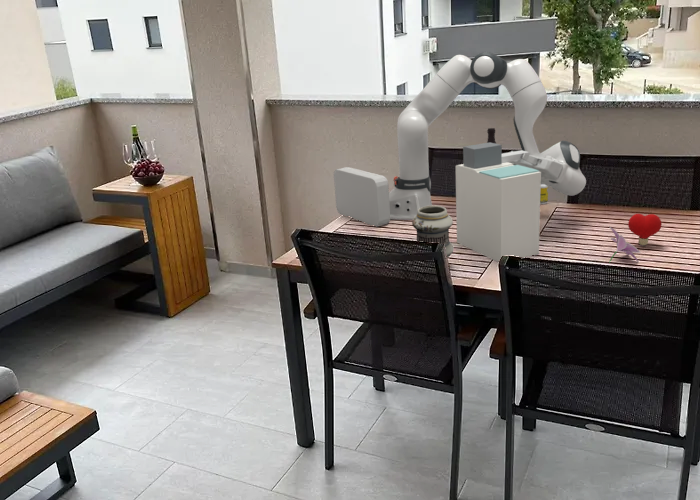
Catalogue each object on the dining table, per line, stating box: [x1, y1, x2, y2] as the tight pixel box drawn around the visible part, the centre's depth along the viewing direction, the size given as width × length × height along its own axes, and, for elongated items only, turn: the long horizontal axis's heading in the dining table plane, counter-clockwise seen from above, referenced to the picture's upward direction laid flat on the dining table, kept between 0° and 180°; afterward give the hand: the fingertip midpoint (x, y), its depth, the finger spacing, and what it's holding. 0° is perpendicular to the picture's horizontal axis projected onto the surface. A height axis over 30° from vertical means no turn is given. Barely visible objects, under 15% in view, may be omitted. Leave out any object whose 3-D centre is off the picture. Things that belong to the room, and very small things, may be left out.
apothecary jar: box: [411, 204, 455, 268], centre depth 196 cm, size 12×12×18 cm
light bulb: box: [627, 213, 662, 247], centre depth 202 cm, size 9×7×10 cm
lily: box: [608, 225, 641, 263], centre depth 192 cm, size 12×12×10 cm
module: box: [462, 142, 530, 169], centre depth 208 cm, size 22×6×6 cm, turn 114°
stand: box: [455, 162, 541, 263], centre depth 206 cm, size 14×24×26 cm, turn 24°
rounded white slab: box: [333, 166, 391, 228], centre depth 249 cm, size 29×8×18 cm, turn 33°
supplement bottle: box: [540, 183, 549, 205], centre depth 254 cm, size 5×5×10 cm
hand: (517, 154), depth 211 cm, fingers closed on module, 4 cm apart
